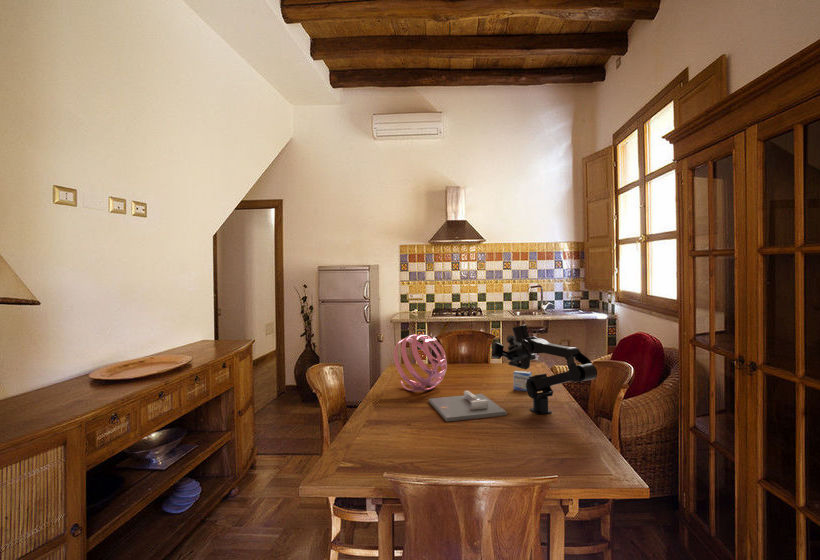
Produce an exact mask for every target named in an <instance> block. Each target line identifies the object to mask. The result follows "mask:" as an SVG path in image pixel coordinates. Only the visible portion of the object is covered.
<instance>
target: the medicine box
mask: <svg viewBox="0 0 820 560" xmlns="http://www.w3.org/2000/svg"><path fill="white" fill-rule="evenodd" d="M532 373H533V372H532V371H525V370H514V371H513V375H512V377H513V378H512V379H513V380H512V382H513V387H512V388H513V391H519V392H527V388H526V382H527V379H530V378H529V377H531V376H533V374H532Z"/></svg>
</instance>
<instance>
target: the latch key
mask: <svg viewBox="0 0 820 560" xmlns="http://www.w3.org/2000/svg"><path fill="white" fill-rule="evenodd" d="M463 395H464V398H465V399H466V400H468V401H469V402H470V408H471V409H472V410H475V409H484V408H488V400H487V399H484V400H481V398H479V397H476V396H475V395H474V393H472V392H471V391H470V390H464V391H463Z"/></svg>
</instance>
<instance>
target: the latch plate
mask: <svg viewBox="0 0 820 560" xmlns="http://www.w3.org/2000/svg"><path fill="white" fill-rule="evenodd" d="M473 394H474V393H473ZM474 395H475V396H476V397H479V398H481V400H484V399H487V400H488V408H484V409H475V410H472V409H471V408H470V402H469V401H468V400H466V399H465V398H464V394H463V395H454V396H453V395H451V396H443V397H433V398H429V399H428V403H429V404H430V405H431V406H432V407H433V409H435V410H436V412H437V413H438V414H439V415H440V416H441V417H442V419H444V420H445V422H458V421H465V420H466V421H467V420H475V419H484V418H493V417H494V418H495V417H502V416H507V411H506V410H505V409H504V408H502V407H501V406H500V405H498V404H497V403H495V402H494V401H493V400H492V399H490V398H489V397H487V396H486V395H484V394H483V393H476V394H474Z"/></svg>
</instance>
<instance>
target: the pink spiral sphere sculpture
mask: <svg viewBox="0 0 820 560" xmlns="http://www.w3.org/2000/svg"><path fill="white" fill-rule="evenodd" d="M419 340H422V343H421V342H420V341H419ZM407 342H408V343H410V344H411V345H410V346H411V347H410V348H411V353H412V356H413V358H414V359H415V361H416V363H417V365H418V366H419V368H420V369H421V370H422V371H424V372H425V373H426V374H427V378H425V377H422V375H420V374H419V373H418V372H417V371H416V370H415V368H414V367H413V365H412V363H411V362H410V359H409V356H408V354H407ZM433 343H434V344H435V345H434V344H433ZM400 344H401V345H400ZM399 346H401V351H400V352H401V357H402V360H403V363H404V365H405V367H406V369H407V370H408V371H409V373H410V375H411V376H412V377H413V378H414V379H415V380H417V381H415V380H411V379H409V378H408V376H407V375H406V373H405V372H404V370H403V369H402V366H401V364H400V361H399V357H398V348H399ZM436 346H437V347H436ZM429 347H430V348H431V349H432V350H433V352H434V353H435V355H436V358H435V357H434V356H433V354H432V353H431V350H430V349H429ZM418 348H419V349H420V350H421V351H422V352H423V353H424V355H425V356H426V358H427V359H428V360H429V362H430V364H431V367H432V369H431V368H430V367H429V366H427V364H426V363H425V362H424V361H423V359H422V358H421V356H420V353H419V351H418ZM437 348H438V349H439V351H438V349H437ZM445 351H446V350H445V349H444V348H443V346H442V345H441V343H440V342H439V341H437V340H436V339H434V338H432V337H431V336H429V335H427V334H421V333H420V334H410V335H407V336H406V337H404V338H402V339H400V340H398V342H397V343H396V345H395V347H394V348H393V360H394V364H395V367H396V370H397V372H398V373H399V375H400V377H401V378H402V379H403V380H404V381H405V382H406V383H407V384H408V385H409V386H410V387H411V388H408V387H407V386H406V385H405V384H404V382H403V380H402V379H401V380H400V384H401V386H402V387H403V388H404V390H406V391H408V392H428V391H431V390H432V389H434V388H436V386H437V385H439V384H440V383H442V381H443V379H444V377H445V374H446V372H447V370H448V361H447V355H446V352H445ZM438 367H440V370H441V371H439V370H438ZM432 379H433V380H432ZM425 387H428V388H425Z"/></svg>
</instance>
